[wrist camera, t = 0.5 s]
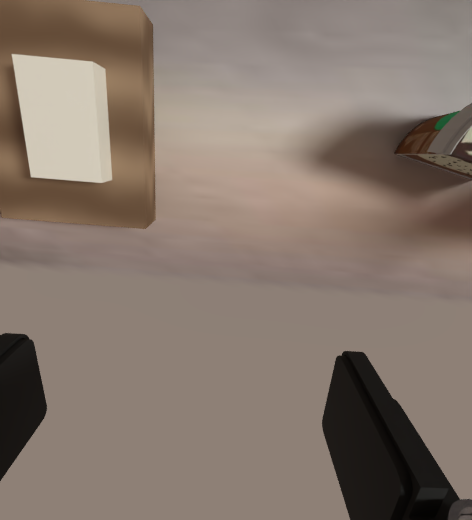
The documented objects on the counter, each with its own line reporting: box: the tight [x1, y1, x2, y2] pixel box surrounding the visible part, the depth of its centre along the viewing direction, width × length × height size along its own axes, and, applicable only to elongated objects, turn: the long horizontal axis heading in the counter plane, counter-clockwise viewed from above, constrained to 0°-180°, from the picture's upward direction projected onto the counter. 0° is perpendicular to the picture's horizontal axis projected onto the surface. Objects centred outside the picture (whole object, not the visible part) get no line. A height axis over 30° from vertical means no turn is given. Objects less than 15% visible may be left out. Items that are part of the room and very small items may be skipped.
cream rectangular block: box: [12, 54, 112, 183], centre depth 26 cm, size 9×6×2 cm, turn 175°
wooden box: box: [0, 0, 156, 229], centre depth 28 cm, size 18×14×4 cm
